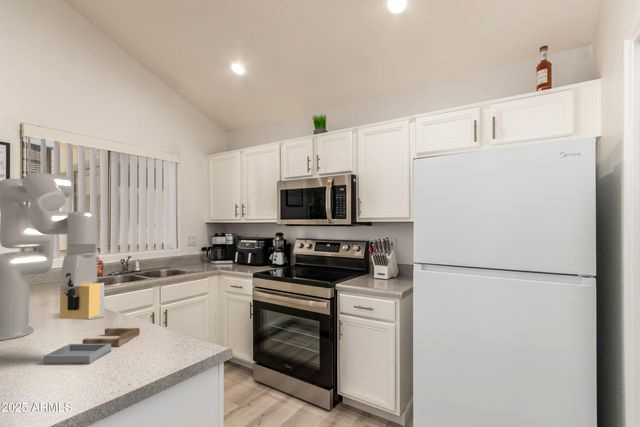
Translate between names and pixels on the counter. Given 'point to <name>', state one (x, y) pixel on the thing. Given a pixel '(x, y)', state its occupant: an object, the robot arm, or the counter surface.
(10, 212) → the robot arm
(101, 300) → the skincare box
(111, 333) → the walnut bay
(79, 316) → the yellow block
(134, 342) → the counter surface
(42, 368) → the counter surface
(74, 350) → the grey tray
